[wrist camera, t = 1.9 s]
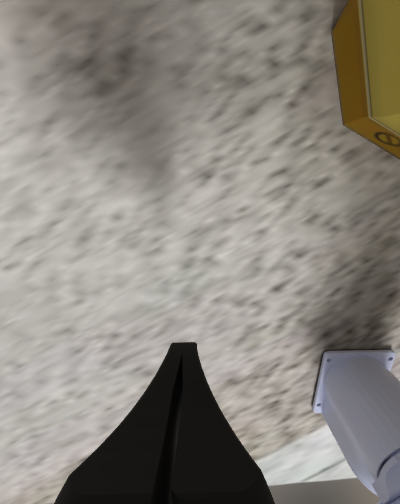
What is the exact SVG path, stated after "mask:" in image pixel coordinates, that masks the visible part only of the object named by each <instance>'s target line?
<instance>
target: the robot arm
mask: <svg viewBox="0 0 400 504" xmlns="http://www.w3.org/2000/svg"><path fill="white" fill-rule="evenodd" d="M395 356H396V353H395V352H394V351H393V350H354V351H326V352H325V353H324V354H323V359H322V364H321V369H320V373H319V378H318V383H317V388H316V392H315V397H314V402H313V407H312V409H313V411H314V413H322V415H323V417H324V419H325V420H326V422H327V424H328V426H329V428H330V430H331V432H332V434H333V436H334V438H335V439H336V441H337V443H338V445H339V447H340V449H341V451H342V453H343V455H344V457H345V459H346V460H347V462H348V464H349V466H350V468H351V469H352V471H353V472H354V474H355V475H356V476H357V478H358V479H359V480H360V481H361V482H362V483H363V484H364V485H365V486H366V487H367V488H368V489H369V490H370V491H371V492H373V493H374V494H376V495H377V496H378V497H379V498H380V501H379V502H378V503H377V504H400V381H399V380H398V379H397V378H396V377H395V376H394V375H393V374H392V373H391V372H390V370H391V368H392V365H393V362H394V359H395ZM54 504H275V503H274V500H273V497H272V495H271V492H270V490H269V488H268V485H267V483H266V480H265V478H264V476H263V474H262V471H261V469H260V468H259V467H258V465H257V464H256V463H255V462H254V460H253V459H252V458H251V456H250V455H249V453H248V452H247V451H246V449H245V448H244V446H243V445H242V444H241V442H240V441H239V439H238V438H237V436H236V435H235V433H234V431H233V430H232V428H231V427H230V425H229V423H228V422H227V420H226V419H225V417H224V415H223V413H222V411H221V410H220V408H219V406H218V404H217V402H216V400H215V398H214V396H213V394H212V392H211V390H210V387H209V385H208V383H207V380H206V378H205V375H204V372H203V369H202V367H201V363H200V360H199V356H198V351H197V344H196V343H195V342H184V343H172V344H171V345H170V348H169V350H168V353H167V355H166V357H165V359H164V361H163V363H162V365H161V366H160V368H159V370H158V372H157V373H156V375H155V377H154V378H153V380H152V382H151V383H150V385H149V386H148V388H147V389H146V391H145V392H144V394H143V395H142V397H141V398H140V399H139V401H138V402H137V404H136V405H135V406H134V407H133V409H132V410H131V411H130V413H129V414H128V415H127V416H126V417H125V419H124V420H123V421H122V422H121V423H120V425H119V426H118V427H117V428H116V429H115V430H114V431H113V432H112V433H111V435H110V436H109V437H108V438H107V439H106V440H105V441H104V442H103V443H102V444H101V445H100V446H99V447H98V448H97V449H96V450H95V451H94V452H93V453H92V454H91V455H90V456H89V457H88V458H87V459H86V460H85V461H84V462H83V463H82V464H81V465H80V466H79V467H77V468H76V469H75V470H74V471H73V472H72V473H71V474H70V475H69V477H68V479H67V480H66V482H65V484H64V486H63V488H62V490H61V491H60V493H59V495H58V497H57V499H56V501H55V503H54Z"/></svg>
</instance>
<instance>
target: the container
mask: <svg viewBox="0 0 400 504" xmlns="http://www.w3.org/2000/svg"><path fill="white" fill-rule="evenodd" d="M332 41H333V49H334V57H335V65H336V73H337V81H338V89H339V97H340V105H341V113H342V121H343V125H344V126H346V127H347V128H349V129H351V130H352V131H354V132H356V133H357V134H359V135H361V136H362V137H364V138H366V139H367V140H369V141H370V142H372V143H374V144H375V145H377V146H379V147H380V148H382V149H384V150H385V151H387V152H389V153H390V154H392V155H394V156H395V157H397V158H399V159H400V0H348V2H347V4H346V6H345V8H344V10H343V12H342V14H341V16H340V17H339V19H338V21H337V23H336V25H335V27H334V29H333V31H332Z"/></svg>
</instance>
